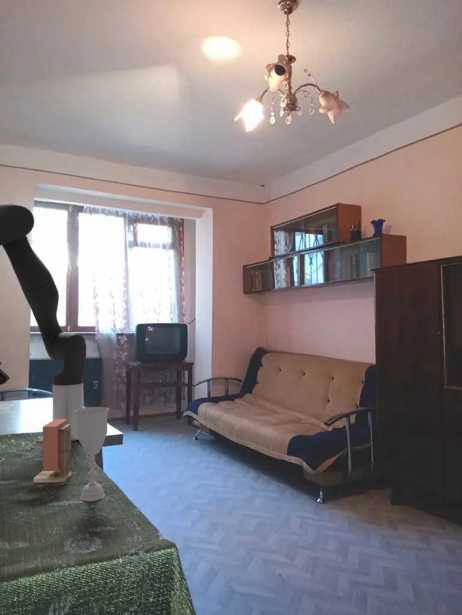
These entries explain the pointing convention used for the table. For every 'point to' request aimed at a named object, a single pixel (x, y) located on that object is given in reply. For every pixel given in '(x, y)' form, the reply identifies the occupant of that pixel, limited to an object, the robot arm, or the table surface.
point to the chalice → (92, 444)
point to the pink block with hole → (52, 444)
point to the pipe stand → (64, 458)
